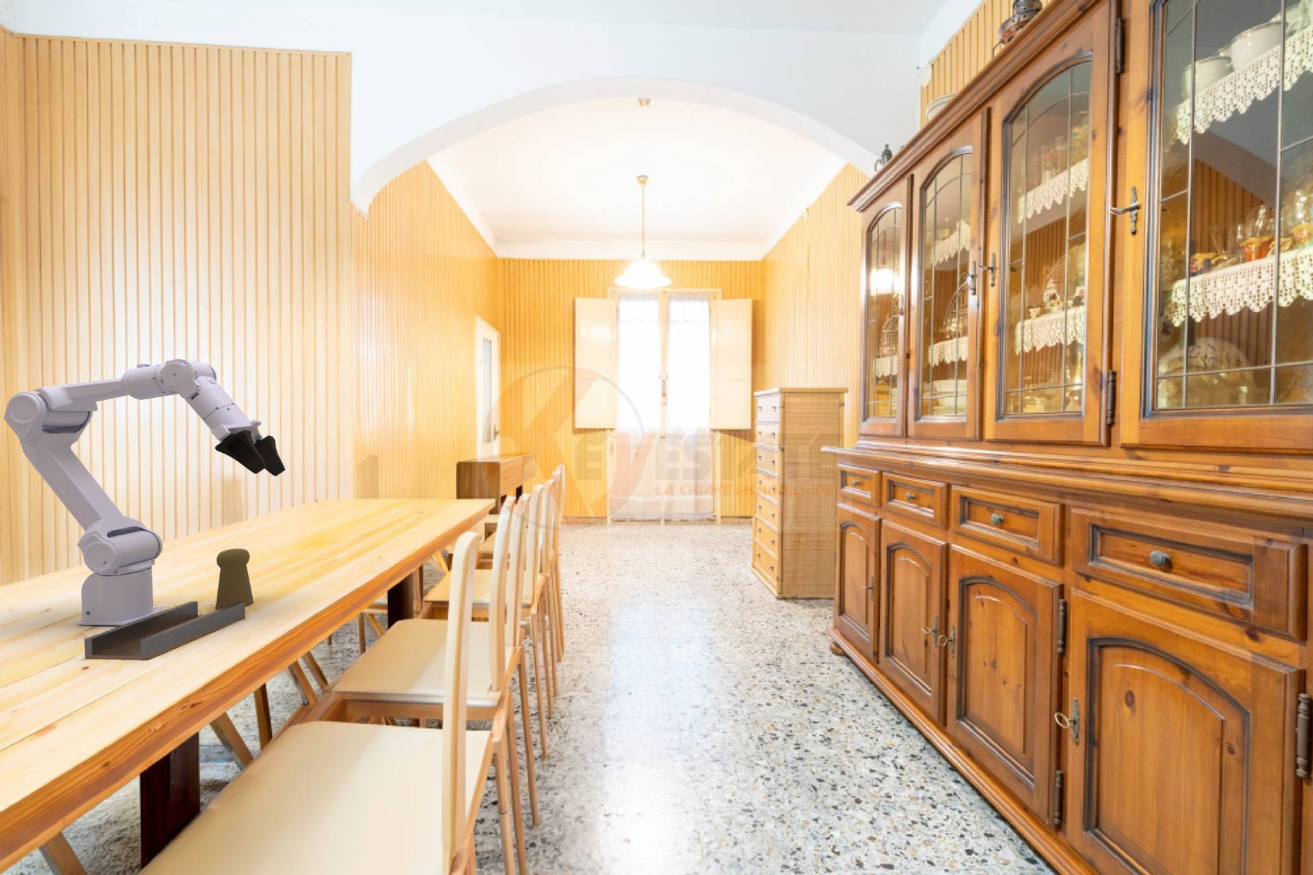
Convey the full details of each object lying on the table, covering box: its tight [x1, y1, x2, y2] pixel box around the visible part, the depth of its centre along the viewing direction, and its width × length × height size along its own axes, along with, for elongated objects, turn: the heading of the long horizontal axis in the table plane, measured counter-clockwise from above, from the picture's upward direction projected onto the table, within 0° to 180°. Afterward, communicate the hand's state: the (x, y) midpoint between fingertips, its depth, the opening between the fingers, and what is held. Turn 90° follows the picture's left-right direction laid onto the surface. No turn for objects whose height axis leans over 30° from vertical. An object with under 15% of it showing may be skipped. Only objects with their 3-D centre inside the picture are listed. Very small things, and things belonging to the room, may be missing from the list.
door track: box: [83, 600, 246, 661], centre depth 93 cm, size 10×18×3 cm, turn 176°
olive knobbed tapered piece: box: [215, 548, 255, 611], centre depth 110 cm, size 6×6×11 cm
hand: (270, 471), depth 103 cm, fingers open, 7 cm apart
